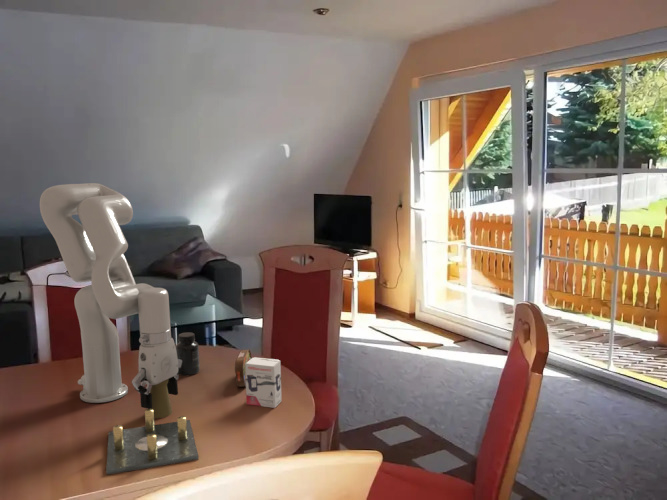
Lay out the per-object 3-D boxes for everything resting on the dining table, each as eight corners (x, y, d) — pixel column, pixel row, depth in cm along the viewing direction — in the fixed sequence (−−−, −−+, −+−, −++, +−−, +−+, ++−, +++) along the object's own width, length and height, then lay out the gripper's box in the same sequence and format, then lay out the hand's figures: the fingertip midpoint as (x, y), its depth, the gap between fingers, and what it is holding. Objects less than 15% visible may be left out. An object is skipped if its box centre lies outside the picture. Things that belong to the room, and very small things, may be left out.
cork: (159, 420, 153) (156, 378, 151) (143, 415, 156) (140, 374, 155) (177, 411, 158) (174, 371, 157) (160, 406, 161) (158, 367, 160)
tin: (245, 391, 172) (244, 362, 170) (234, 391, 172) (233, 362, 170) (253, 372, 186) (252, 345, 185) (243, 372, 187) (242, 345, 185)
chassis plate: (106, 474, 127) (104, 448, 126) (108, 435, 145) (107, 412, 144) (198, 459, 133) (197, 433, 132) (189, 423, 151) (188, 400, 150)
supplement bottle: (196, 366, 191) (195, 330, 190) (202, 373, 185) (200, 336, 183) (175, 370, 189) (173, 333, 187) (179, 377, 182) (177, 339, 181)
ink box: (245, 404, 162) (244, 362, 160) (253, 397, 167) (252, 356, 165) (275, 408, 160) (274, 365, 158) (282, 401, 164) (281, 359, 162)
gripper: (142, 348, 145) (147, 416, 147) (189, 329, 160) (193, 391, 163) (119, 344, 148) (124, 411, 151) (167, 326, 163) (171, 387, 166)
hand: (160, 400), depth 157 cm, fingers open, 9 cm apart
